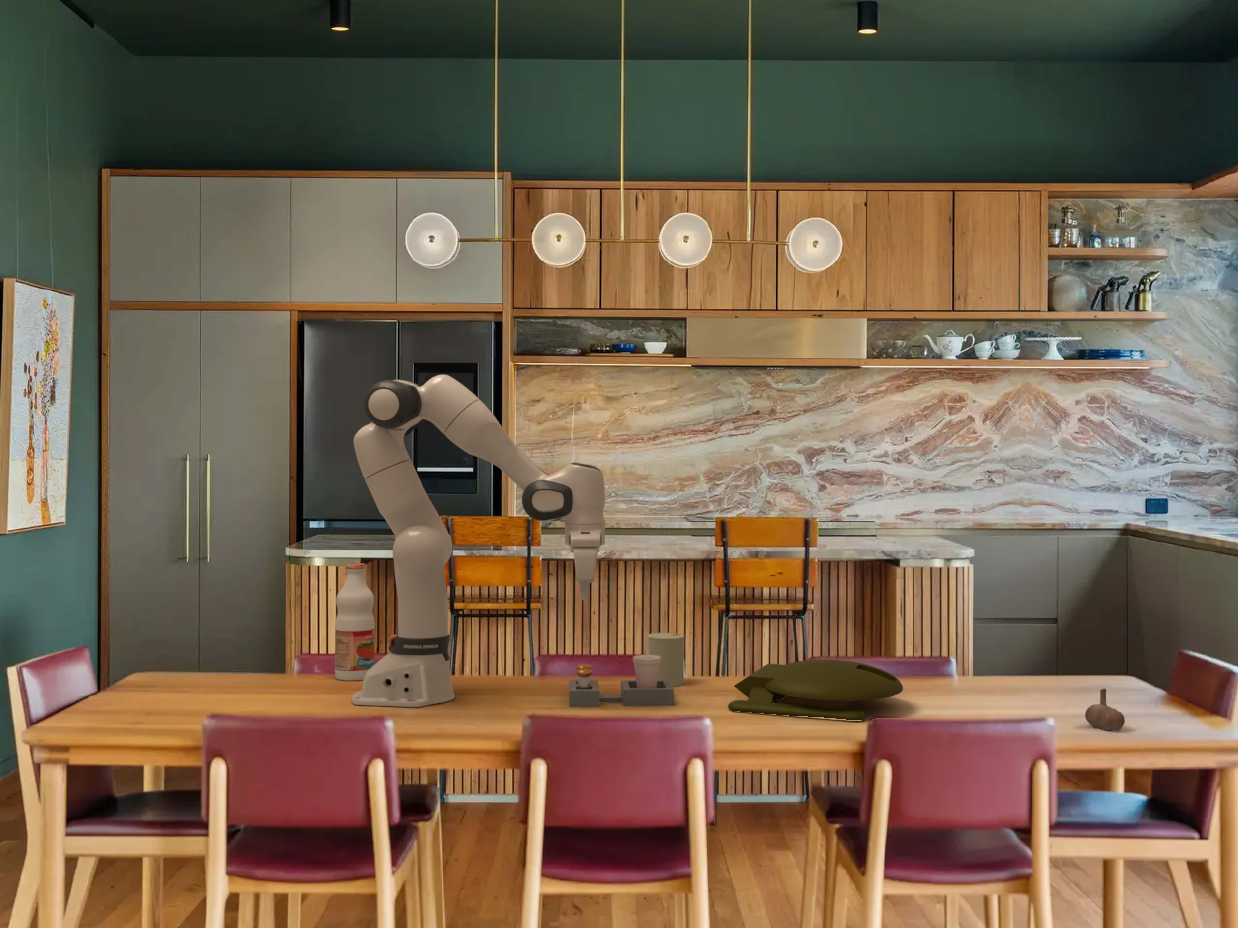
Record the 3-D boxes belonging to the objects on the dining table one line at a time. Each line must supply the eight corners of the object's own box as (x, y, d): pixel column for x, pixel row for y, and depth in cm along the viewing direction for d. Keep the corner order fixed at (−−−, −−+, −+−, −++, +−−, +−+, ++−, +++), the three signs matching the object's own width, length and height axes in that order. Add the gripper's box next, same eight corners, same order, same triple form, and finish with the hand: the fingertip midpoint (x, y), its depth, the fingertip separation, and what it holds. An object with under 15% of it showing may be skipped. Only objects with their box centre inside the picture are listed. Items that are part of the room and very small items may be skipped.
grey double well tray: (569, 706, 238) (569, 690, 238) (569, 694, 251) (569, 679, 251) (674, 706, 239) (674, 690, 239) (668, 694, 252) (668, 679, 252)
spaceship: (724, 713, 234) (725, 667, 234) (760, 687, 263) (760, 646, 263) (892, 728, 221) (892, 679, 221) (911, 699, 250) (911, 656, 250)
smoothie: (640, 704, 241) (641, 640, 241) (627, 698, 246) (627, 636, 247) (666, 701, 244) (666, 638, 244) (652, 696, 249) (652, 634, 250)
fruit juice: (341, 673, 276) (342, 562, 276) (378, 674, 275) (379, 562, 275) (329, 680, 266) (330, 565, 266) (367, 681, 266) (368, 565, 266)
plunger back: (576, 691, 246) (576, 666, 246) (576, 688, 249) (576, 664, 249) (591, 691, 246) (591, 666, 246) (591, 688, 249) (591, 664, 249)
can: (692, 684, 264) (692, 634, 264) (661, 688, 259) (661, 637, 259) (669, 678, 272) (669, 629, 272) (638, 682, 267) (638, 632, 267)
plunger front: (576, 697, 240) (576, 671, 240) (576, 694, 243) (576, 668, 243) (592, 697, 240) (592, 671, 240) (591, 694, 243) (591, 668, 243)
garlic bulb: (1082, 723, 225) (1082, 683, 225) (1121, 725, 223) (1121, 686, 223) (1087, 731, 218) (1087, 690, 218) (1127, 733, 216) (1127, 693, 216)
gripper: (570, 534, 252) (570, 594, 252) (570, 539, 231) (570, 605, 231) (597, 534, 252) (597, 594, 252) (600, 539, 232) (600, 605, 232)
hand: (584, 599), depth 242 cm, fingers closed
